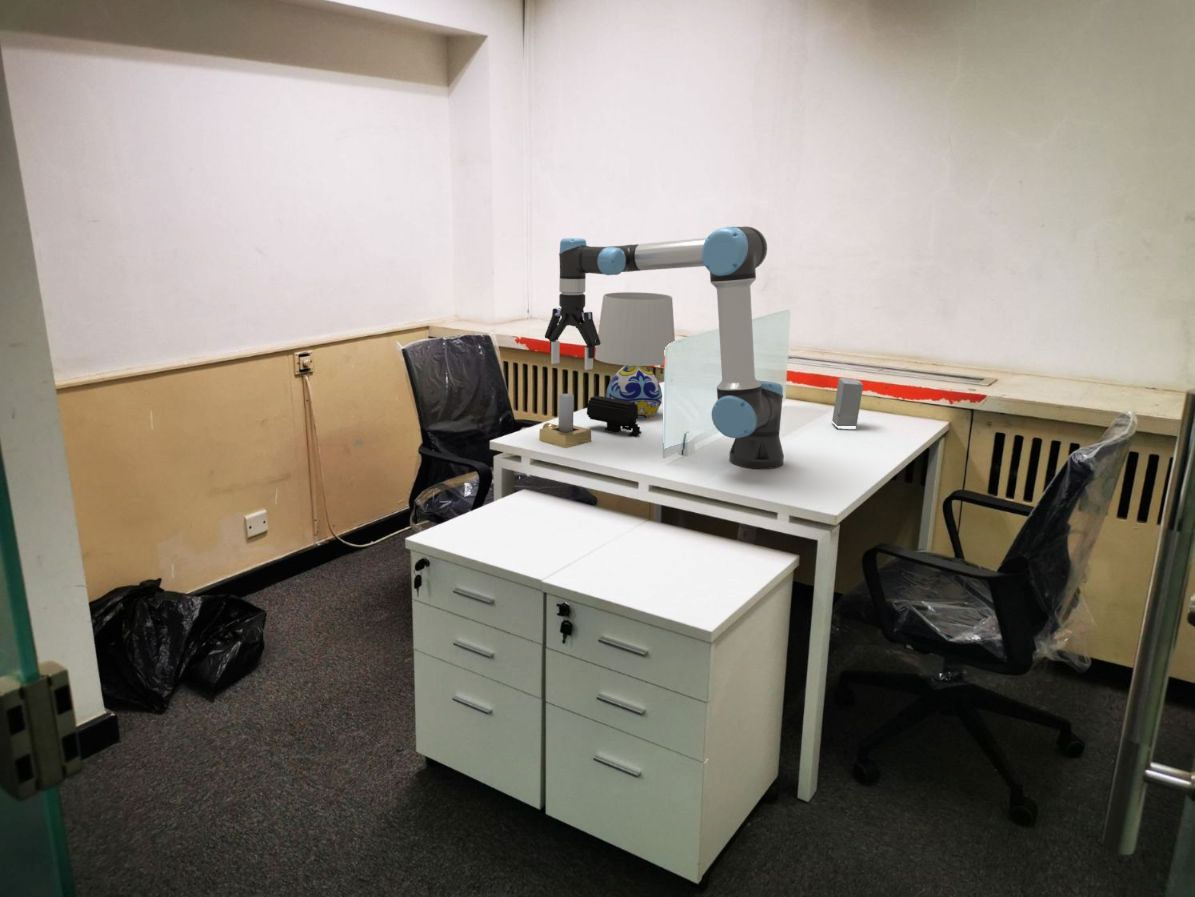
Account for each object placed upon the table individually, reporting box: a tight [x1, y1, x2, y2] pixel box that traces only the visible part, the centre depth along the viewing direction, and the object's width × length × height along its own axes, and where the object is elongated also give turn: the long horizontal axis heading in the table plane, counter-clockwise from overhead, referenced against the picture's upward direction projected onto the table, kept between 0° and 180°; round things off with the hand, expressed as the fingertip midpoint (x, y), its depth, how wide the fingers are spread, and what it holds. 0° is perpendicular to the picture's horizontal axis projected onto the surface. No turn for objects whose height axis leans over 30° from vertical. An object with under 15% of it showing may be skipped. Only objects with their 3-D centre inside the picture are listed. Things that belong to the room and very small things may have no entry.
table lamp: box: [594, 291, 676, 421], centre depth 300 cm, size 27×27×40 cm
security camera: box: [586, 395, 642, 438], centre depth 282 cm, size 7×18×10 cm, turn 53°
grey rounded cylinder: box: [558, 393, 575, 433], centre depth 269 cm, size 4×4×14 cm
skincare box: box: [831, 377, 864, 427], centre depth 294 cm, size 8×7×16 cm
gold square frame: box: [538, 422, 592, 449], centre depth 271 cm, size 14×11×4 cm
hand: (571, 366), depth 265 cm, fingers open, 13 cm apart
